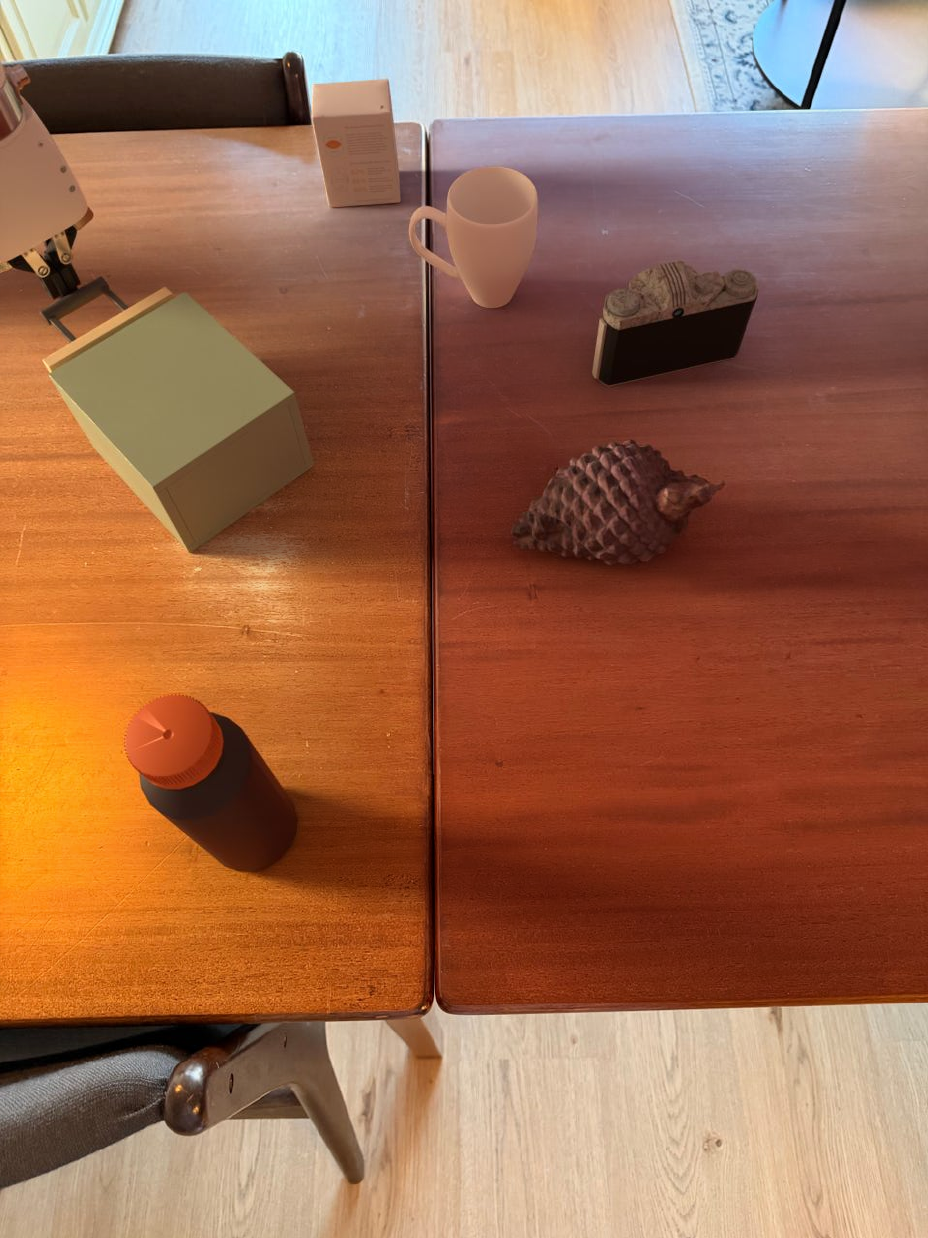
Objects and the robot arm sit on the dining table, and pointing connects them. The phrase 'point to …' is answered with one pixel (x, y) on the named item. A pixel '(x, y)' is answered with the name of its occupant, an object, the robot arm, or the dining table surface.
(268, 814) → the bottle
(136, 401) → the cabinet
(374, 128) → the small box
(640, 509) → the pine cone
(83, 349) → the drawer
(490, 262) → the mug
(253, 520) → the dining table surface
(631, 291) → the camera
